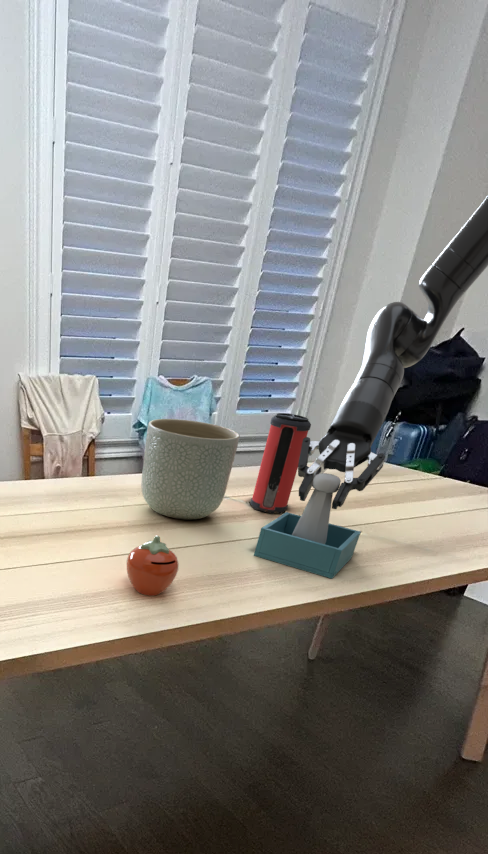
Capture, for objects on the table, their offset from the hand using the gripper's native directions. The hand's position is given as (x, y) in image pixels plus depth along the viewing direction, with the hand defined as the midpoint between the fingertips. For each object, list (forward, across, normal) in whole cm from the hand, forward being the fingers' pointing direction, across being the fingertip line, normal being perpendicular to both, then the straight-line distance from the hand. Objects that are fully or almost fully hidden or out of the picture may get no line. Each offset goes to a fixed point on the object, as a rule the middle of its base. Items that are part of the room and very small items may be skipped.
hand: (318, 501), depth 104 cm
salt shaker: (+5, 0, +8) cm, 10 cm away
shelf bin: (+6, 0, +8) cm, 10 cm away
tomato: (+30, -13, -16) cm, 36 cm away
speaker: (-11, -15, +25) cm, 32 cm away
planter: (+2, -27, +12) cm, 30 cm away
